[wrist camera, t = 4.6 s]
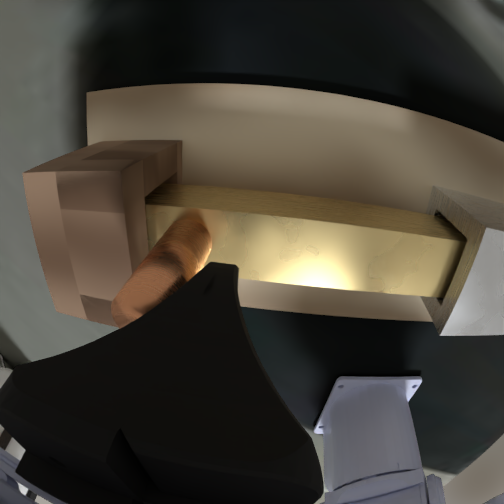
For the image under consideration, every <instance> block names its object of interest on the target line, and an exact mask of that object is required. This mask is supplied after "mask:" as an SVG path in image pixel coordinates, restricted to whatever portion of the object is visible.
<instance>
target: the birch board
mask: <svg viewBox="0 0 504 504" xmlns="http://www.w3.org/2000/svg"><path fill="white" fill-rule="evenodd" d="M87 137H88V146H89V145H92V144H95V143H98V142H101V141H122V140H182V184H184V185H199V186H213V187H226V188H237V189H248V190H259V191H269V192H278V193H287V194H296V195H305V196H313V197H321V198H328V199H336V200H343V201H350V202H357V203H364V204H370V205H377V206H383V207H389V208H395V209H401V210H407V211H412V212H418V213H424V214H426V211H427V207H428V203H429V199H430V195H431V191H432V187H433V185H434V186H438V187H443V188H447V189H451V190H455V191H459V192H463V193H467V194H471V195H474V196H478V197H482V198H485V199H489V200H492V201H496V202H499V203H502V204H504V142H502V141H499V140H497V139H495V138H492V137H490V136H487V135H485V134H482V133H480V132H477V131H474V130H472V129H469V128H466V127H463V126H460V125H458V124H455V123H452V122H449V121H446V120H443V119H439V118H436V117H433V116H430V115H426V114H423V113H419V112H416V111H412V110H408V109H404V108H400V107H397V106H392V105H388V104H384V103H380V102H375V101H370V100H365V99H360V98H355V97H350V96H344V95H339V94H332V93H326V92H319V91H312V90H304V89H296V88H286V87H276V86H263V85H247V84H219V83H191V84H163V85H147V86H135V87H125V88H116V89H107V90H100V91H93V92H87ZM238 296H239V301H240V306H244V307H252V308H261V309H270V310H279V311H288V312H298V313H309V314H320V315H331V316H344V317H357V318H372V319H388V320H407V321H432V319H431V317H430V315H429V313H428V311H427V309H426V307H425V305H424V303H423V301H422V299H421V297H420V296H414V295H402V294H390V293H378V292H366V291H355V290H345V289H334V288H324V287H314V286H304V285H295V284H285V283H276V282H267V281H258V280H249V279H241V278H238ZM432 322H433V321H432Z"/></svg>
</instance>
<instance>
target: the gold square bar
mask: <svg viewBox="0 0 504 504" xmlns="http://www.w3.org/2000/svg"><path fill="white" fill-rule="evenodd" d="M144 199H145V213H146V226H147V237H148V247H149V253H148V254H147V256H146V257H145V258H144V259H143V261H142V262H141V263H140V265H139V266H138V267H137V269H136V270H135V271H134V272H133V274H132V275H131V276H130V278H129V279H128V280H127V282H126V283H125V284H124V286H123V287H122V288H121V290H120V291H119V293H118V294H117V295H116V297H115V298H114V299H113V301H112V304H111V313H112V317H113V319H114V321H115V323H116V324H117V326H118V327H119V328H122V327H124V326H126V325H127V324H129V323H131V322H132V321H134V320H136V319H138V318H139V317H141V316H142V315H144V314H146V313H147V312H149V311H150V310H152V309H153V308H154V307H156V306H157V305H158V304H160V303H161V302H162V301H164V300H165V299H166V298H168V297H169V296H170V295H172V294H173V293H174V292H175V291H177V290H178V289H179V288H180V287H181V286H183V285H184V284H185V283H186V282H187V281H189V280H190V279H191V278H192V277H193V276H194V275H195V274H197V273H198V272H199V271H200V270H201V269H202V268H203V267H205V266H206V265H207V264H208V263H209V262H218V263H227V264H235V265H237V267H238V268H239V277H238V278H241V279H249V280H258V281H267V282H276V283H285V284H295V285H304V286H314V287H324V288H334V289H345V290H355V291H366V292H378V293H390V294H402V295H414V296H428V297H441V298H445V296H446V294H447V291H448V289H449V287H450V284H451V282H452V280H453V277H454V275H455V272H456V270H457V267H458V265H459V262H460V259H461V257H462V254H463V251H464V248H465V246H466V243H467V240H468V239H467V238H466V237H465V236H464V235H463V234H462V233H461V232H460V231H459V230H458V229H457V228H456V227H455V226H454V225H453V224H452V223H451V222H450V221H449V220H448V219H447V218H445V217H439V216H434V215H429V214H424V213H418V212H412V211H407V210H401V209H395V208H389V207H383V206H377V205H370V204H364V203H357V202H350V201H343V200H336V199H328V198H321V197H313V196H305V195H296V194H287V193H278V192H269V191H259V190H248V189H237V188H226V187H213V186H199V185H184V184H166V183H162V184H161V185H159V186H158V187H157V188H155V189H154V190H153V191H152V192H150V193H149V194H148V195H147V196H145V197H144Z"/></svg>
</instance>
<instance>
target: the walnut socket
mask: <svg viewBox="0 0 504 504" xmlns="http://www.w3.org/2000/svg"><path fill="white" fill-rule="evenodd" d="M23 180H24V187H25V193H26V199H27V205H28V210H29V215H30V220H31V224H32V229H33V233H34V238H35V242H36V246H37V250H38V253H39V257H40V261H41V264H42V268H43V271H44V275H45V278H46V281H47V284H48V288H49V291H50V294H51V297H52V300H53V302H54V305H55V308H56V311H57V312H60V313H64V314H67V315H71V316H75V317H78V318H82V319H86V320H90V321H94V322H98V323H102V324H106V325H110V326H115V327H118V326H117V324H116V323H115V321H114V319H113V317H112V313H111V304H112V301H113V299H114V298H115V297H116V295H117V294H118V293H119V291H120V290H121V288H122V287H123V286H124V284H125V283H126V282H127V280H128V279H129V278H130V276H131V275H132V274H133V272H134V271H135V270H136V269H137V267H138V266H139V265H140V263H141V262H142V261H143V259H144V258H145V257H146V256H147V254H148V253H149V247H148V237H147V226H146V213H145V199H144V197H145V196H147V195H148V194H149V193H150V192H152V191H153V190H154V189H155V188H157V187H158V186H159V185H161V184H162V183H166V184H182V140H122V141H101V142H98V143H95V144H92V145H89V146H87V147H84V148H81V149H78V150H76V151H73V152H71V153H68V154H65V155H63V156H60V157H58V158H56V159H53V160H51V161H48V162H46V163H44V164H41V165H39V166H37V167H34V168H32V169H30V170H28V171H26V172H23Z"/></svg>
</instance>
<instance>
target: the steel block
mask: <svg viewBox="0 0 504 504" xmlns="http://www.w3.org/2000/svg"><path fill="white" fill-rule="evenodd" d="M426 214H429V215H434V216H439V217H445V218H447V219H448V220H449V221H450V222H451V223H452V224H453V225H454V226H455V227H456V228H457V229H458V230H459V231H460V232H461V233H462V234H463V235H464V236H465V237H466V238H467V239H468V240H467V243H466V246H465V248H464V251H463V254H462V257H461V259H460V262H459V265H458V267H457V270H456V272H455V275H454V277H453V280H452V282H451V284H450V287H449V289H448V291H447V294H446V296H445V298H441V297H428V296H420V297H421V299H422V301H423V303H424V305H425V307H426V309H427V311H428V313H429V315H430V317H431V319H432V321H433V323H434V325H435V327H436V329H437V331H438V333H439V335H440V336H467V335H504V204H502V203H499V202H496V201H492V200H489V199H485V198H482V197H478V196H474V195H471V194H467V193H463V192H459V191H455V190H451V189H447V188H443V187H438V186H434V185H433V187H432V191H431V195H430V199H429V203H428V207H427V211H426Z"/></svg>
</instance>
